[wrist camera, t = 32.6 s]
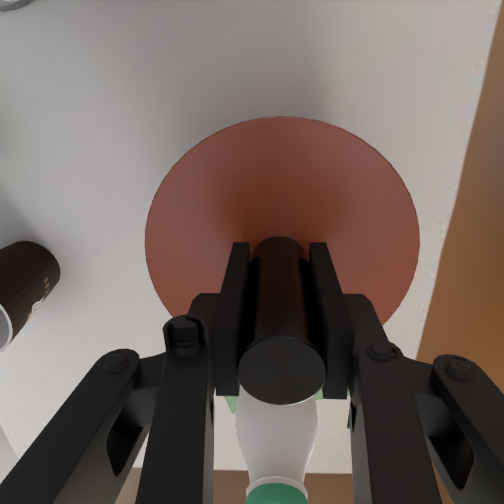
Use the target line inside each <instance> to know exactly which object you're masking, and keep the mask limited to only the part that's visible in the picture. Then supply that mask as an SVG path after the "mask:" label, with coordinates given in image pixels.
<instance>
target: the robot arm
mask: <svg viewBox="0 0 504 504" xmlns="http://www.w3.org/2000/svg"><path fill="white" fill-rule="evenodd" d="M32 1H33V0H0V11H8V10H14V9H17V8H20V7H22V6H24V5H26V4H29V3H30V2H32ZM308 265H309V270H310V275H311V281H312V286H313V291H314V297H315V302H316V307H317V312H318V318H319V323H320V328H321V334H322V339H323V344H324V349H325V355H326V360H327V366H328V374H327V378H326V381H325V383H324V385H323V387H322V394H323V399H346V400H347V393H348V389H349V393H350V397H351V402H350V409H349V417H348V425H347V428H349V429H350V434H351V453H352V471H353V490H354V504H442V500H441V496H440V493H439V489H438V485H437V481H436V478H435V474H434V470H433V466H432V462H433V464H434V466H435V468H436V470H437V472H438V474H439V476H440V478H441V480H442V481H443V483H444V485H445V487H446V489H447V491H448V493H449V495H450V497H451V498H452V500H453V502H454V504H504V394H503V393H502V392H501V391H500V390H499V388H498V387H497V386H496V385H495V384H494V383H493V382H492V380H491V379H490V378H489V377H488V376H487V375H486V373H485V372H484V371H483V370H482V369H481V368H480V367H479V366H478V365H476V364H475V363H474V362H472V361H470V360H468V359H466V358H463V357H460V356H457V355H448V354H445V355H441V356H438V357H437V358H435V360H434V362H433V365H432V364H427V363H423V362H419V361H415V360H412V359H409V358H407V357H405V356H403V353H402V352H401V350H400V348H398V347H397V346H396V345H395V344H393V343H391V342H389V341H388V338H387V336H386V334H385V331H384V329H383V327H382V325H381V322H380V320H379V318H378V316H377V313H376V311H375V309H374V307H373V304H372V302H371V301H370V300H369V299H368V298H367V297H366V296H364V295H363V294H344V293H342V290H341V287H340V284H339V281H338V277H337V274H336V271H335V268H334V265H333V262H332V259H331V256H330V253H329V250H328V247H327V243H326V242H310V244H309V264H308ZM249 267H250V245H249V242H233V245H232V249H231V253H230V256H229V260H228V264H227V268H226V272H225V275H224V279H223V283H222V287H221V291H220V293H200V294H198V295H197V296H196V297H195V298H194V299H193V300H192V303H191V305H190V308H189V310H188V313H187V314H184V315H179V316H176V317H174V318H171V319H170V320H169V321H167V322H166V323H165V325H164V327H163V334H164V340H165V346H166V352H164V353H161V354H159V355H155V356H151V357H146V358H142V359H140V358H139V354H138V353H137V352H135V351H134V350H130V349H118V350H114V351H111V352H109V353H107V354H105V355H103V356H102V357H101V358H100V359H99V360H97V361H96V363H95V364H94V365H93V367H92V368H91V369H90V370H89V372H88V373H87V374H86V375H85V377H84V378H83V379H82V381H81V382H80V383H79V384H78V386H77V387H76V388H75V390H74V391H73V392H72V393H71V395H70V396H69V397H68V398H67V400H66V401H65V402H64V404H63V405H62V406H61V407H60V409H59V410H58V411H57V413H56V414H55V415H54V416H53V418H52V419H51V420H50V421H49V423H48V424H47V425H46V427H45V428H44V429H43V430H42V432H41V433H40V434H39V436H38V437H37V438H36V439H35V441H34V442H33V443H32V444H31V446H30V447H29V448H28V450H27V451H26V452H25V453H24V455H23V456H22V457H21V459H20V460H19V461H18V463H17V464H16V465H15V466H14V467H13V469H12V470H11V471H10V473H9V474H8V475H7V476H6V478H5V479H4V480H3V482H2V483H1V484H0V504H115V502H116V500H117V497H118V495H119V493H120V491H121V489H122V487H123V485H124V483H125V481H126V479H127V476H128V474H129V472H130V470H131V468H132V466H133V464H134V462H135V460H136V457H137V455H138V453H139V451H140V449H141V447H142V445H143V443H144V441H145V439H146V436H147V434H148V432H149V430H150V432H149V437H148V442H147V447H146V452H145V457H144V462H143V467H142V472H141V477H140V482H139V487H138V492H137V497H136V502H135V504H213V465H214V398H213V396H214V391H215V387H216V396H239V391H240V383H239V381H238V378H237V375H236V361H237V355H238V347H239V340H240V333H241V326H242V318H243V311H244V304H245V296H246V289H247V282H248V274H249ZM431 460H432V462H431Z"/></svg>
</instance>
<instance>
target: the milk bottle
mask: <svg viewBox="0 0 504 504" xmlns="http://www.w3.org/2000/svg"><path fill="white" fill-rule="evenodd" d="M317 420H318V419H317V407H316V397H315V395H314V396H313V397H311V398H310V399H308V400H306V401H304V402H301V403H298V404H293V405H273V404H268V403H264V402H262V401H259V400H257V399H255V398H254V397H252V396H251V395H249V394H248V393H247V392H246V391H245V390H244V389H243V387H242V386H241V385H240V391H239V396H237V402H236V432H237V438H238V442H239V445H240V448H241V451H242V453H243V456H244V458H245V461H246V464H247V468H248V472H249V477H250V485H249V486H248V488H247V491H246V495H247V499H246V504H308V502H307V491H306V489H305V487H304V486H303V483H304V475H305V471H306V467H307V464H308V461H309V459H310V456H311V454H312V451H313V448H314V445H315V441H316V436H317Z"/></svg>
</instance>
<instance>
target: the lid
mask: <svg viewBox="0 0 504 504" xmlns="http://www.w3.org/2000/svg"><path fill="white" fill-rule="evenodd" d="M233 242H249V245H250V267H249V274H248V282H247V289H246V296H245V304H244V311H243V318H242V326H241V333H240V340H239V347H238V355H237V361H236V375H237V378H238V381H239V383H240V385H241V386H242V387H243V389H244V390H245V391H246V392H247V393H248V394H249V395H251V396H252V397H254V398H255V399H257V400H259V401H262V402H264V403H268V404H273V405H293V404H298V403H301V402H304V401H306V400H308V399H310V398H311V397H313V396H314V395H316V394H317V393H318V392H319V391H320V390H321V388H322V387H323V385H324V383H325V381H326V378H327V374H328V366H327V360H326V355H325V349H324V344H323V339H322V334H321V328H320V323H319V318H318V312H317V307H316V302H315V297H314V291H313V286H312V281H311V275H310V270H309V265H308V264H309V244H310V242H326V243H327V247H328V250H329V253H330V256H331V259H332V262H333V265H334V268H335V271H336V274H337V277H338V281H339V284H340V287H341V290H342V293H344V294H363V295H364V296H366V297H367V298H368V299H369V300H370V301H371V302H372V304H373V307H374V309H375V311H376V313H377V316H378V318H379V320H380V322H381V325H382V326H383V325H384V324H385V323H386V322H387V321H388V320H389V318H390V317H391V316H392V315H393V313H394V312H395V311H396V310H397V308H398V307H399V305H400V304H401V302H402V300H403V299H404V297H405V295H406V294H407V292H408V289H409V287H410V285H411V282H412V280H413V278H414V274H415V270H416V267H417V263H418V255H419V247H420V239H419V225H418V219H417V214H416V210H415V207H414V204H413V201H412V198H411V195H410V193H409V191H408V190H407V188H406V186H405V184H404V182H403V180H402V178H401V177H400V176H399V174H398V173H397V172H396V170H395V169H394V168H393V166H392V165H391V164H390V163H389V162H388V161H387V160H386V159H385V158H384V157H383V156H382V155H381V154H380V153H379V152H378V151H377V150H376V149H375V148H373V147H372V146H370V145H369V144H368V143H366V142H365V141H363V140H362V139H361V138H359V137H357V136H355V135H354V134H352V133H350V132H348V131H346V130H344V129H342V128H340V127H337V126H334V125H331V124H328V123H325V122H323V121H319V120H314V119H308V118H303V117H290V116H274V117H263V118H257V119H252V120H248V121H244V122H240V123H237V124H234V125H232V126H229V127H227V128H224V129H221V130H220V131H218V132H216V133H214V134H212V135H211V136H209V137H207V138H205V139H204V140H202V141H201V142H200V143H198V144H197V145H196V146H194V147H193V148H192V149H190V150H189V151H188V152H187V153H186V154H185V155H184V156H183V157H182V158H181V159H180V160H179V161H178V162H177V163H176V164H175V165H174V166H173V167H172V168H171V170H170V171H169V173H168V174H167V175H166V177H165V178H164V179H163V181H162V183H161V185H160V186H159V188H158V190H157V192H156V194H155V196H154V199H153V201H152V204H151V207H150V210H149V213H148V218H147V223H146V228H145V253H146V262H147V266H148V270H149V274H150V278H151V280H152V283H153V285H154V288H155V290H156V292H157V294H158V296H159V298H160V300H161V301H162V303H163V305H164V306H165V308H166V309H167V310H168V312H169V313H170V314H171V316H172V317H173V318H174V317H176V316H179V315H184V314H187V313H188V310H189V308H190V305H191V303H192V300H193V299H194V298H195V297H196V296H197V295H198V294H200V293H220V291H221V287H222V283H223V279H224V275H225V272H226V268H227V264H228V260H229V256H230V253H231V249H232V245H233Z"/></svg>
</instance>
